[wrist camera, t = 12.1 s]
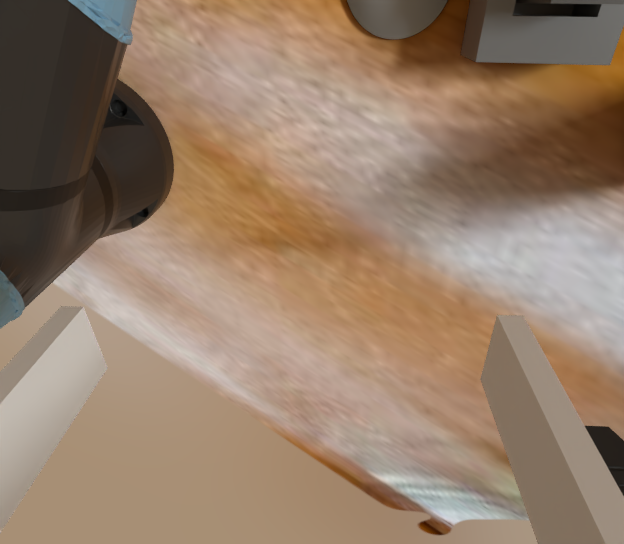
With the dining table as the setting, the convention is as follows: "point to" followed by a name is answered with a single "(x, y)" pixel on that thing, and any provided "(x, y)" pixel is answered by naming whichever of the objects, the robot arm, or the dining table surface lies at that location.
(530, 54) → the strip
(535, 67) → the dining table surface
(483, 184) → the dining table surface
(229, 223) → the dining table surface
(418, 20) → the coaster
